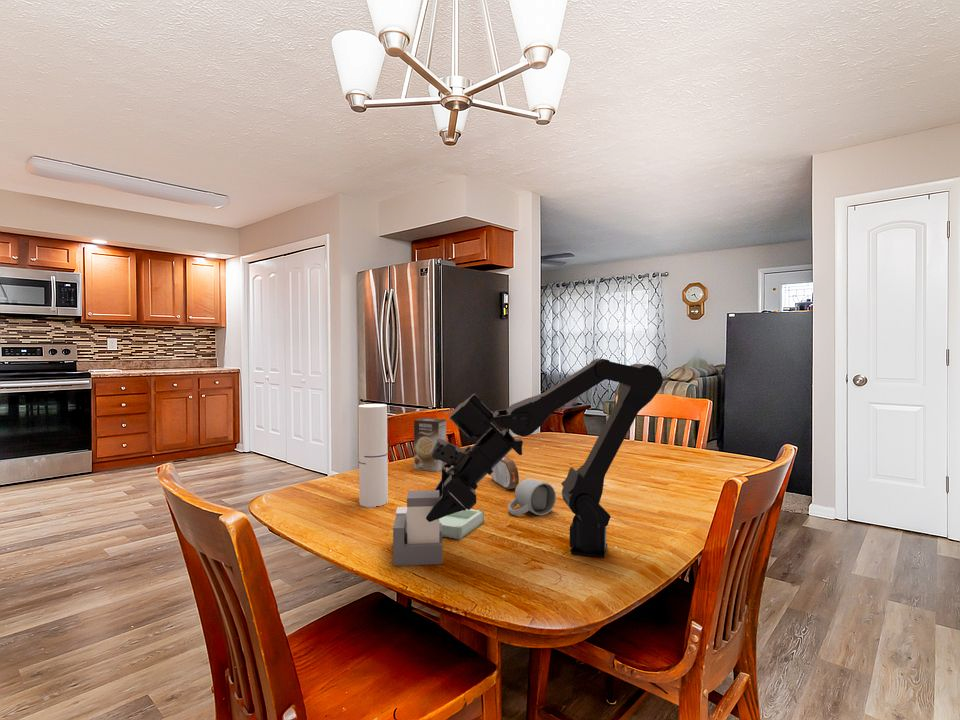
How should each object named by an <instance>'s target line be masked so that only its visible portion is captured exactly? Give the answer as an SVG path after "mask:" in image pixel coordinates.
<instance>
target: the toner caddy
mask: <svg viewBox="0 0 960 720" xmlns="http://www.w3.org/2000/svg"><path fill="white" fill-rule="evenodd" d="M438 500H439V490H435V489H432V490H431V489H430V490H429V489H428V490H426V489H425V490H408V491H407V497H406V507H407V544H426V543H439V519H437V520H434V521H431V522H429V521H428V520H427V519H426V516H427V515H428V513H429V512H430V511H431V509H432V508H433V507H434V505H435V504H436V502H437V501H438Z"/></svg>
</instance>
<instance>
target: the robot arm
mask: <svg viewBox="0 0 960 720" xmlns="http://www.w3.org/2000/svg"><path fill="white" fill-rule="evenodd" d="M606 380H607V381H612V382H616V383H619V385H618V392H617V399H616V402H615V404H614V407H613V409H612V410H611V413H609V416H608V418H607V419H606V422H605V423H604V425H603V427H602V429H601V432H600V434H599V435H598V437H597V438H596V441H595V443H594V444H593V446H592V448H591V451H589V454H588V456H587V457H586V459H585V462H584V463H583V464H582V465H581V466H580V467H579V468H578V469H575V468H574V467H572V466H571V467H570V468H569V469H568V472H567V476H566V477H565V479H564V480H563V481H562V482H561V483H560V484H561V486H562V490H561V496H562V500H563V501H564V503H565V504H566V506H567V507H568V508H569V509H570V511H571V512H572V513H573V514H574V515H573V518H572V522H571V524H570V525H569V547H570V548H571V549H570V554H572V555H577V556H578V555H579V556H586V557H595V558H596V557H597V558H606V553H607V550H608V543H607V526H608V525H609V523H610V519H611V514H609V512H608V511H607V510H606V509H605V508H604V507H603V506H602V505H601V504H600V502H601V498H602V496H603V492H604V491H603V490H604V483H605V477H606V474H607V473H608V471H609V468H610V467H611V465H612V463H613V461H614V460H615V457H616V455H617V453H618V452H619V449H620V448H621V445H622V444H623V442H624V440H625V439H626V436H627V435H628V432H629V430H630V428H631V427H632V425H633V423H634V421H635V419H636V417H637V415H638V414H639V412H640V411H641V410H643V409H644V408H645V407H646V406H647V405H648V404H649V403H651V401H652V400H653V399H654V398H655V396H656V395H657V394H658V392H660V389H662V387H663V383H664V378H663V374H662V372H661V371H660V369H659V368H658V367H656V366H654V365H651V364H644V363H634V364H631V365H627V364H623V363H619V362H614V361H610V360H609V359H606V358H594V359H593V360H591V362H590V363H589V364H587V365H585V366H583V367H582V368H580V369H579V370H577V371H576V372H574V373H573V374H571V375H569V376H568V377H566V378H565V379H563V380H562V381H560V382H559V383H557V384H555V385H554V386H552V387H550V388H549V389H547V390H546V391H544V392H542V393H539V394H537V395H533V396H531V397H528V398H524V399H522V400H520V401H517V402H516V403H513V404H511V405H510V406H509V407H508V408H506V409H499V410H494V411H493V410H492V411H491V410H490V409H489V408H488V406H486V405H485V404H484V403H483V402H482V401H481V400H480V397H479V396H478V395H476V393H473V394H472V395H470V396H469V397H468V398H467V399H465V400H464V401H463V402H460V404H458V405H457V406H456V407H455V408H454V410H453V411H452V412H451V413H450V415H448V419H449V420H451V422H453V423H454V425H455V426H456V427H458V428H459V430H461V432H462V433H464V435H465V436H467V438H468V439H469V438H470V439H471V438H472V437H474V438H476V439H478V440H477V442H475V443H474V444H473V446H472V445H467V447H466V448H460V447H459V446H458V445H456V444H453V443H450V441H447V440H446V441H444V440H442V439H438V440H437V442H436V444H435V446H434V448H433V450H432V452H431V454H432V455H431V457H432V458H434V459H436V460H441V461H443V462H444V463H443V466H444V467H445V468H444V467H442V470H441V478H440V480H439V482H438V484H437V485H436V486H435V488H434V490H439V500H438V501H437V502H436V504H435V505H434V507H433V508H432V509H431V511H430V512H429V513H428V515H427V516H426V519H427V520H428V521H429V522H431V521H434V520H437V519H439V518H442V517H445V516H448V515H450V514H453V513H456V512H459V511H462V510H463V511H465V510H466V509H468V510H470V509H472V508H473V507H474V506H475V505H476V504H477V493H476V489H478V488H479V486H478V484H479V483H480V482H481V481H482V480H483V479H484V478H485V477H486V476H487V475H489V476H491V473H492V472H493V468H494V467H495V466H496V465H497V464H498V463H499V462H500V461H501V460H502V459H503V458H504V457H505V456H506V457H507V455H508V454H509V453H510V452H511V451H512V450H513V451H515V453H516V454H517V455H519V456H522V455H523V444H524V441H523V440H522V439H521V438H518V439H517V438H515V437H514V436H513V435H512V434H511V433H510V432H509V431H508V430H510V431H511V432H512V433H513V434H514V435H516V436H518V437H523V438H524V437H527V436H530V435H532V434H533V433H535V432H536V430H538V429H539V428H540V427H541V426H542V425H544V423H545V422H546V421H547V420H548V419H549V417H550V416H552V414H553V413H555V412H556V411H557V410H559V409H560V408H562V407H563V406H565V405H566V404H568V403H570V402H571V401H573V400H574V399H576V398H578V397H579V396H581V395H583V394H584V393H585V392H587V391H589V390H591V389H593V388H594V387H595V386H597V385H598V384H599V383H602V382H603V381H606ZM492 421H493V422H495V424H496V425H497V426H498V427H499V428H502V429H503V430H501V431H500V429H498V428H497V427H496V426H495V424H493V422H492ZM507 429H508V430H507ZM485 432H486V433H485ZM479 437H480V439H479Z"/></svg>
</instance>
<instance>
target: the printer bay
mask: <svg viewBox="0 0 960 720" xmlns="http://www.w3.org/2000/svg"><path fill="white" fill-rule="evenodd" d="M392 555H393V556H392V557H393V558H392V561H393V563H392V565H393V567H394V566H399V567H400V566H425V565H429V566H430V565H443V537H442V523H439V543H426V544H407V506H397V508H396V511H395V519H394V523H393V528H392Z"/></svg>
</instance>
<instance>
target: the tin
mask: <svg viewBox="0 0 960 720" xmlns="http://www.w3.org/2000/svg"><path fill="white" fill-rule="evenodd" d="M490 476H491V479H492V480H493V481H494V482H495V483H496V484H497V485H499V486H500V487H502V488H503V489H505V490H515V489H516V487H517V485H518V484H519V483H520V475H519V470H518V467H517V464H516V462H515V461H514V460H513V458H510V457H508V456H507V455H506V456H505V457H504V458H503V459H502V460H501V461H500V462H499V463H498V464H497V465H496V466H495V467H494V468H493V472H492V473H491V474H490Z"/></svg>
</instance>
